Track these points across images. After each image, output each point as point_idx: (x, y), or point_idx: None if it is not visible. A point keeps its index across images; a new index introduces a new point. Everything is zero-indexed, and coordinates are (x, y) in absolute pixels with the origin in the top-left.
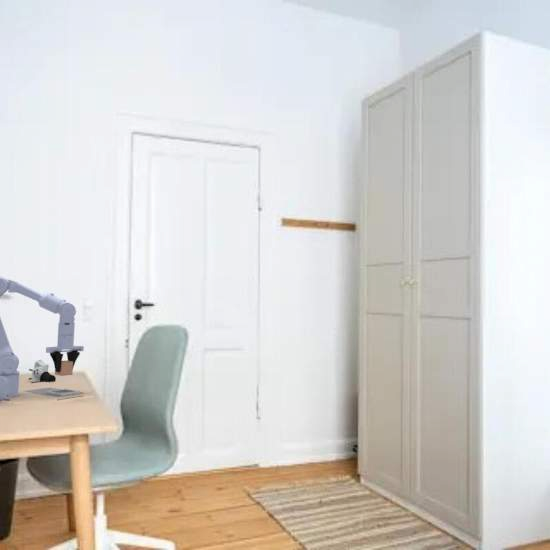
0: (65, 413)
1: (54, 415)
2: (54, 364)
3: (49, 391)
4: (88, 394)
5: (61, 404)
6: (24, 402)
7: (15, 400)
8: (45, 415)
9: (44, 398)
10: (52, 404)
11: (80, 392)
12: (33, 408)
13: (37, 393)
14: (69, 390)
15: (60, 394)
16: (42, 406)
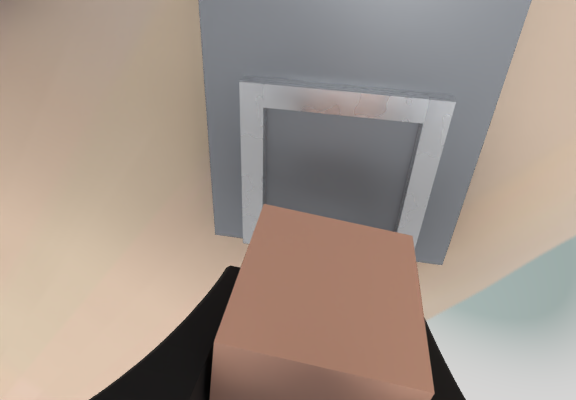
0: (82, 394)
1: (38, 386)
2: (180, 328)
3: (257, 107)
4: (526, 228)
5: (163, 303)
6: (33, 128)
7: (4, 13)
8: (13, 369)
9: (204, 112)
10: (131, 276)
11: (446, 236)
12: (18, 274)
13: (199, 9)
14: (409, 181)
15: (244, 234)
16: (70, 273)
